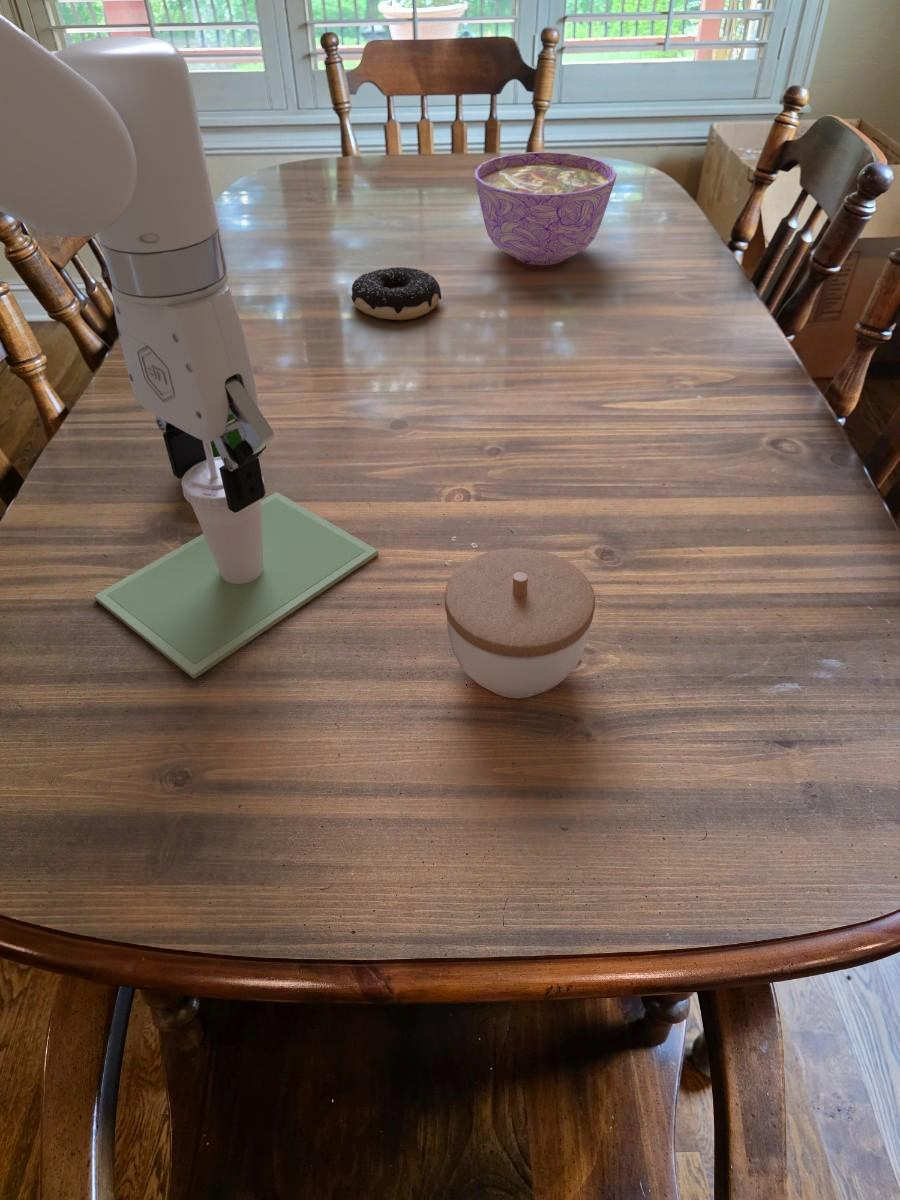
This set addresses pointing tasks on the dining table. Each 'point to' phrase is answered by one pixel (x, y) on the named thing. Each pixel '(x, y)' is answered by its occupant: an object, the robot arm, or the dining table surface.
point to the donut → (396, 293)
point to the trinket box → (518, 619)
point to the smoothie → (225, 522)
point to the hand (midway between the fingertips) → (219, 484)
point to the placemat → (233, 587)
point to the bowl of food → (543, 203)
